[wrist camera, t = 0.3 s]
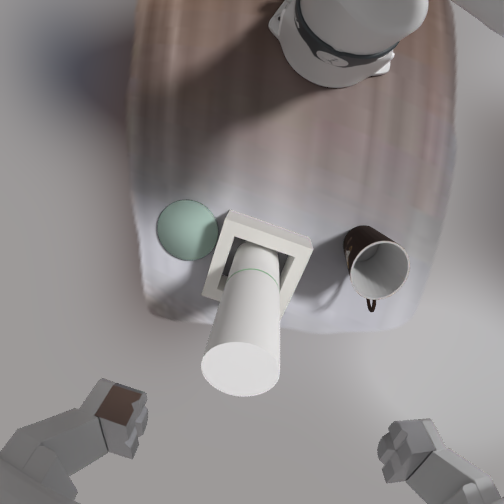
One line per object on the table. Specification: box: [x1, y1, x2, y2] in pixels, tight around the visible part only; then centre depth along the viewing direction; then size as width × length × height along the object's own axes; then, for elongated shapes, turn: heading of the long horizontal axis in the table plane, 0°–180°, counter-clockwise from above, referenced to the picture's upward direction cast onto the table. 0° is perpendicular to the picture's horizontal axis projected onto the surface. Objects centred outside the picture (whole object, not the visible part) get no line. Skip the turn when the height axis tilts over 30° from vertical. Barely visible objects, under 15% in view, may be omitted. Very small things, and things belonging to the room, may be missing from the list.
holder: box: [201, 210, 313, 320], centre depth 46 cm, size 13×13×5 cm
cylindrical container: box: [201, 241, 280, 396], centre depth 37 cm, size 7×7×25 cm
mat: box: [157, 200, 218, 260], centre depth 47 cm, size 10×10×1 cm
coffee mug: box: [343, 226, 410, 312], centre depth 42 cm, size 12×9×10 cm
